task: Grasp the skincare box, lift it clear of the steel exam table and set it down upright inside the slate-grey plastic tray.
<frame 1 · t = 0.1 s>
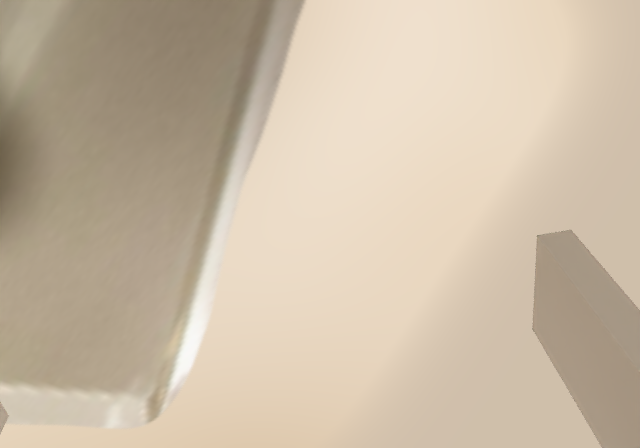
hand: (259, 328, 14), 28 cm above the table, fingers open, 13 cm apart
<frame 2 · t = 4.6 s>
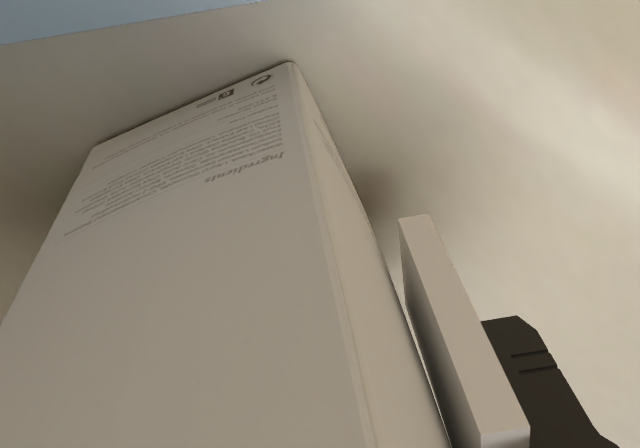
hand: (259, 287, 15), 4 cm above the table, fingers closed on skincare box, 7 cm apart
skincare box: (262, 212, 19), on the table, touching gripper
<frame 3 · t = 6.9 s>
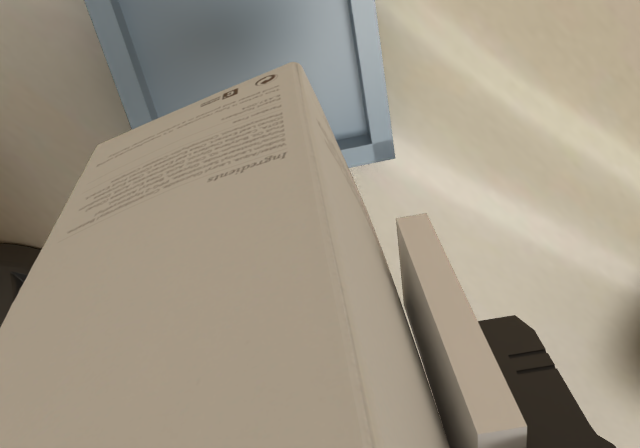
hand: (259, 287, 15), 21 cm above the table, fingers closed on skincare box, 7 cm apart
tray: (246, 45, 33), on the table
skincare box: (265, 212, 19), point 17 cm above the table, touching gripper
when the fingers open (5 cm above the table, at t = 9.2 s): skincare box stays where it is, resting on tray.
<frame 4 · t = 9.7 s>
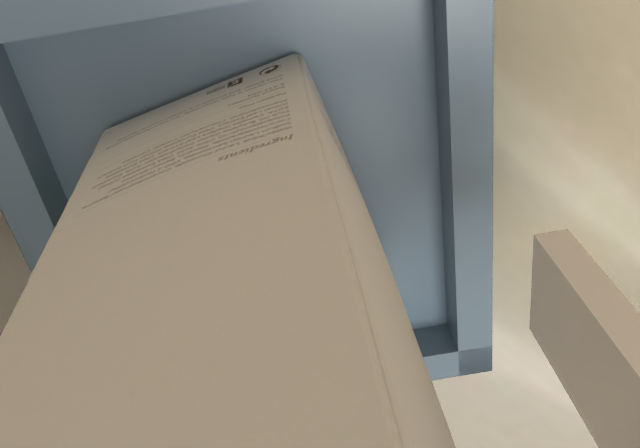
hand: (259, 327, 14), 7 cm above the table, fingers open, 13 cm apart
tray: (260, 194, 20), on the table
skincare box: (264, 199, 19), resting on tray
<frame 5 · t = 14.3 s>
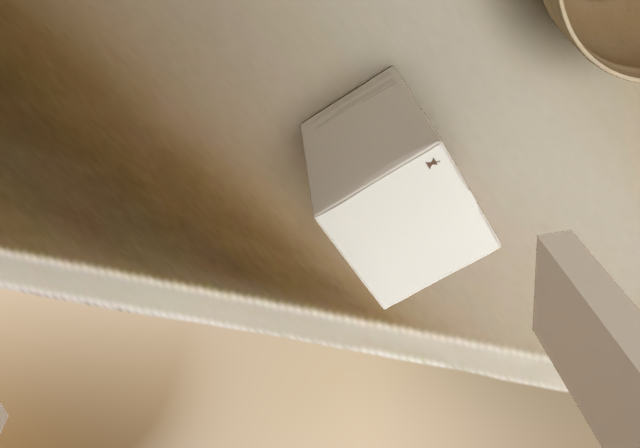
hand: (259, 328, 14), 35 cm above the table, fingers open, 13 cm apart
supplement box: (371, 137, 50), on the table
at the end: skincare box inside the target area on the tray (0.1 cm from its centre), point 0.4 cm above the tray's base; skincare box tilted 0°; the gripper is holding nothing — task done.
